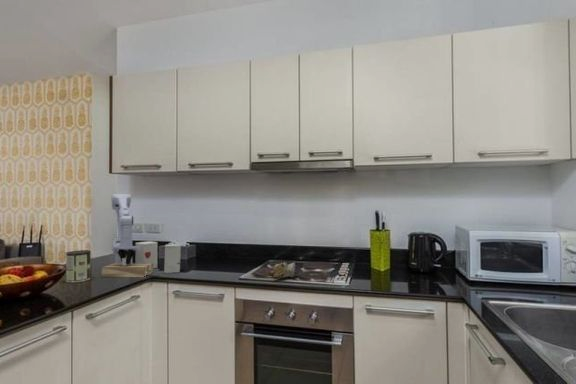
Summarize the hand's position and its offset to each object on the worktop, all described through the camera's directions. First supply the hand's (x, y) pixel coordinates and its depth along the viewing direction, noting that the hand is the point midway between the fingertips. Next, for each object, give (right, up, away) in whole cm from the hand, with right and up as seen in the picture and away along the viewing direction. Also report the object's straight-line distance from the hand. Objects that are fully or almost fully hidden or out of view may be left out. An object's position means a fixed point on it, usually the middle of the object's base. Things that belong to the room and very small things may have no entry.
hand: (126, 263), depth 173 cm
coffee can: (-18, -6, -11) cm, 22 cm away
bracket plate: (0, -5, 0) cm, 5 cm away
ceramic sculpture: (+83, -5, -10) cm, 83 cm away
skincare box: (+22, -6, +7) cm, 24 cm away
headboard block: (+1, -6, 0) cm, 6 cm away
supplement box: (+4, -6, +16) cm, 18 cm away
